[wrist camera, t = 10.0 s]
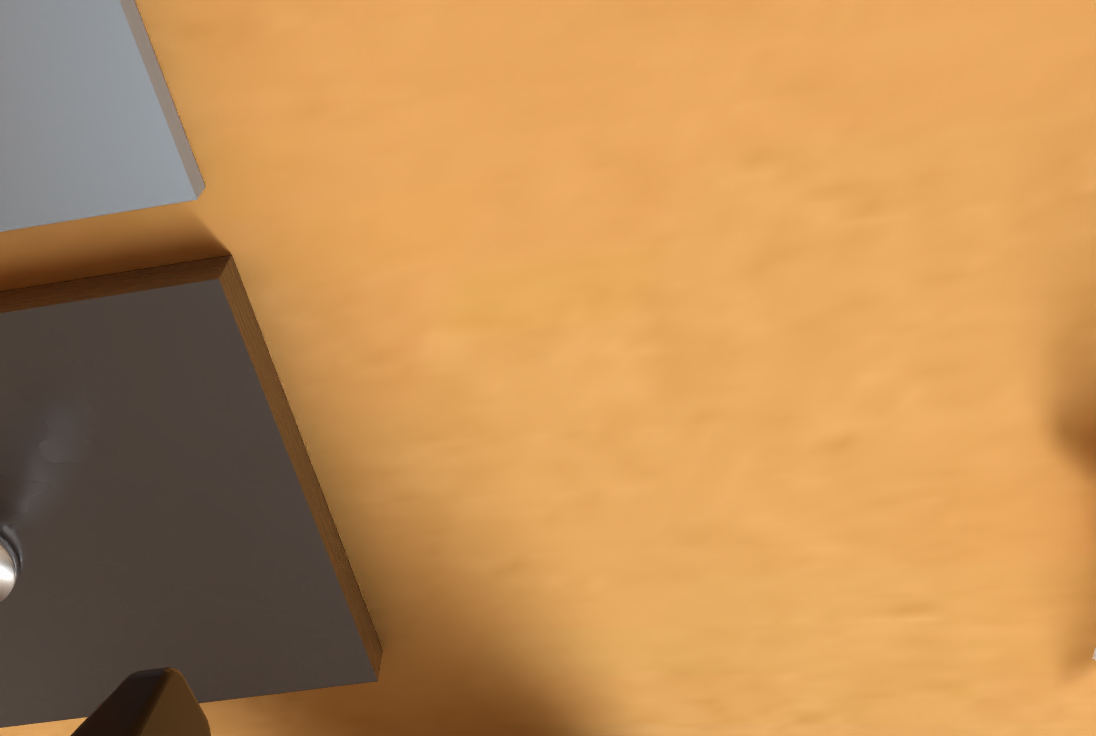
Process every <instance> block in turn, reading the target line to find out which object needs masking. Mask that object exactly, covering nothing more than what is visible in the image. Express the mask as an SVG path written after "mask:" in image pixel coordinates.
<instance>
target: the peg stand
mask: <svg viewBox="0 0 1096 736" xmlns="http://www.w3.org/2000/svg"><path fill="white" fill-rule="evenodd" d="M381 658H382V648H381V645H380V643H379V640H378V637H377V635H376V632H375V630H374V627H373V624H372V622H371V619H370V616H369V614H368V611H367V609H366V606H365V603H364V601H363V598H362V596H361V593H360V590H359V588H358V585H357V582H356V580H355V577H354V575H353V572H352V569H351V567H350V564H349V561H348V559H347V556H346V554H345V551H344V548H343V546H342V543H341V540H340V538H339V535H338V533H337V530H336V527H335V525H334V522H333V520H332V517H331V514H330V512H329V509H328V506H327V504H326V501H325V499H324V496H323V493H322V491H321V488H320V485H319V483H318V480H317V478H316V475H315V472H314V470H313V467H312V464H311V462H310V459H309V457H308V454H307V451H306V449H305V446H304V444H303V441H302V438H301V436H300V433H299V430H298V428H297V425H296V423H295V420H294V417H293V415H292V412H291V409H290V407H289V404H288V402H287V399H286V396H285V394H284V391H283V388H282V386H281V383H280V381H279V378H278V375H277V373H276V370H275V368H274V365H273V362H272V360H271V357H270V354H269V352H268V349H267V347H266V344H265V341H264V339H263V336H262V333H261V331H260V328H259V326H258V323H257V320H256V318H255V315H254V312H253V310H252V307H251V305H250V302H249V299H248V297H247V294H246V292H245V289H244V286H243V284H242V281H241V278H240V276H239V273H238V271H237V268H236V265H235V263H234V260H233V257H232V255H229V256H222V257H216V258H210V259H204V260H197V261H191V262H185V263H178V264H172V265H166V266H160V267H153V268H147V269H141V270H135V271H128V272H122V273H116V274H109V275H103V276H97V277H91V278H84V279H78V280H72V281H66V282H59V283H53V284H47V285H40V286H34V287H28V288H22V289H15V290H9V291H3V292H0V728H2V727H10V726H18V725H26V724H34V723H43V722H51V721H59V720H67V719H75V718H83V717H89V716H90V715H91V714H92V713H93V711H94V710H95V709H96V708H97V707H98V706H99V705H100V704H101V703H102V702H103V701H104V700H105V699H106V698H107V697H108V696H109V695H110V694H111V693H112V692H113V690H114V689H115V688H116V687H117V686H118V685H119V684H120V683H121V682H122V681H123V680H124V679H125V678H126V677H128V676H129V675H130V674H132V673H134V672H137V671H141V670H149V669H157V668H165V667H172V668H175V669H177V670H178V671H180V672H181V673H182V675H183V676H184V678H185V680H186V682H187V683H188V685H189V687H190V689H191V691H192V692H193V694H194V696H195V698H196V700H197V701H198V703H205V702H213V701H221V700H229V699H237V698H245V697H253V696H261V695H270V694H278V693H286V692H294V691H302V690H310V689H318V688H326V687H334V686H342V685H351V684H359V683H367V682H375V681H378V677H379V670H380V664H381Z"/></svg>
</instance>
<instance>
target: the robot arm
mask: <svg viewBox="0 0 1096 736" xmlns="http://www.w3.org/2000/svg"><path fill="white" fill-rule="evenodd" d="M71 736H211V733H210V727H209V723H208V720H207V718H206V716H205V714H204V712H203V710H202V709H201V707H200V705H199V703H198V701H197V700H196V698H195V696H194V694H193V692H192V691H191V689H190V687H189V685H188V683H187V682H186V680H185V678H184V676H183V675H182V673H181V672H180V671H178V670H177V669H175V668H172V667H165V668H157V669H149V670H141V671H137V672H134V673H132V674H130V675H129V676H128V677H126V678H125V679H124V680H123V681H122V682H121V683H120V684H119V685H118V686H117V687H116V688H115V689H114V690H113V692H112V693H111V694H110V695H109V696H108V697H107V698H106V699H105V700H104V701H103V702H102V703H101V704H100V705H99V706H98V707H97V708H96V709H95V710H94V711H93V713H92V714H91V715H90V716H89V717H88V718H87V719H86V720H85V721H84V722H83V723H82V724H81V725H80V726H79V727H78V728H77V729H76V730H75V731H74V733H73V734H72V735H71Z"/></svg>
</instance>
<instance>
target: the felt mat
mask: <svg viewBox="0 0 1096 736" xmlns="http://www.w3.org/2000/svg"><path fill="white" fill-rule="evenodd" d="M204 188H205V184H204V181H203V179H202V176H201V174H200V171H199V168H198V166H197V163H196V160H195V158H194V155H193V153H192V150H191V147H190V145H189V142H188V139H187V137H186V134H185V132H184V129H183V126H182V124H181V121H180V119H179V116H178V113H177V111H176V108H175V105H174V103H173V100H172V98H171V95H170V92H169V90H168V87H167V84H166V82H165V79H164V77H163V74H162V71H161V69H160V66H159V63H158V61H157V58H156V56H155V53H154V50H153V48H152V45H151V43H150V40H149V37H148V35H147V32H146V29H145V27H144V24H143V22H142V19H141V16H140V14H139V11H138V8H137V6H136V3H135V1H134V0H0V232H3V231H9V230H15V229H21V228H28V227H34V226H40V225H46V224H52V223H58V222H64V221H70V220H76V219H82V218H88V217H94V216H101V215H107V214H113V213H119V212H125V211H131V210H137V209H143V208H149V207H155V206H161V205H167V204H174V203H180V202H186V201H192V200H197V199H198V197H199V196H200V194H201V193H202V191H203V190H204Z"/></svg>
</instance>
